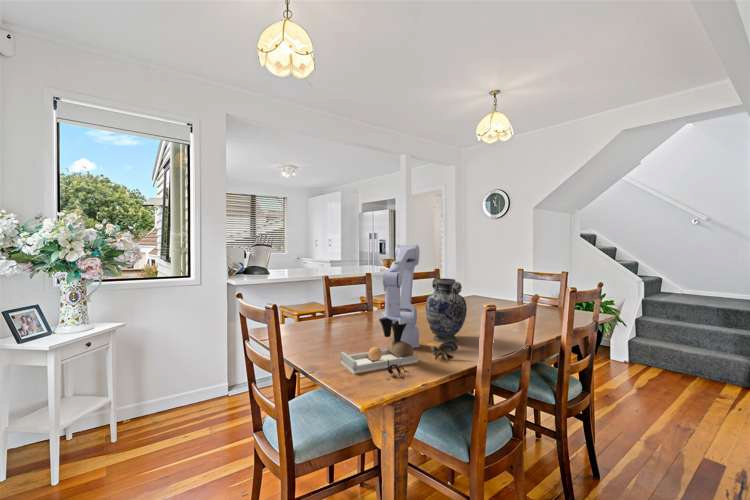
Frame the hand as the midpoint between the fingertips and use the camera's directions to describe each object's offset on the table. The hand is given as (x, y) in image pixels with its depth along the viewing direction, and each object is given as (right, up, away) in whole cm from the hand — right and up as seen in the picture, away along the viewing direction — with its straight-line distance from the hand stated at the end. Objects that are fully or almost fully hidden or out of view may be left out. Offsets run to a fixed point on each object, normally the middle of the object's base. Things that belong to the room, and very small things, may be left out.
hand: (392, 339), depth 135 cm
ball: (-6, -5, -3) cm, 9 cm away
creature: (+1, -9, -15) cm, 17 cm away
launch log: (+3, -8, +2) cm, 9 cm away
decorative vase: (+26, -8, +29) cm, 40 cm away
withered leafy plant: (+20, -8, +3) cm, 22 cm away
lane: (-5, -8, -2) cm, 10 cm away
